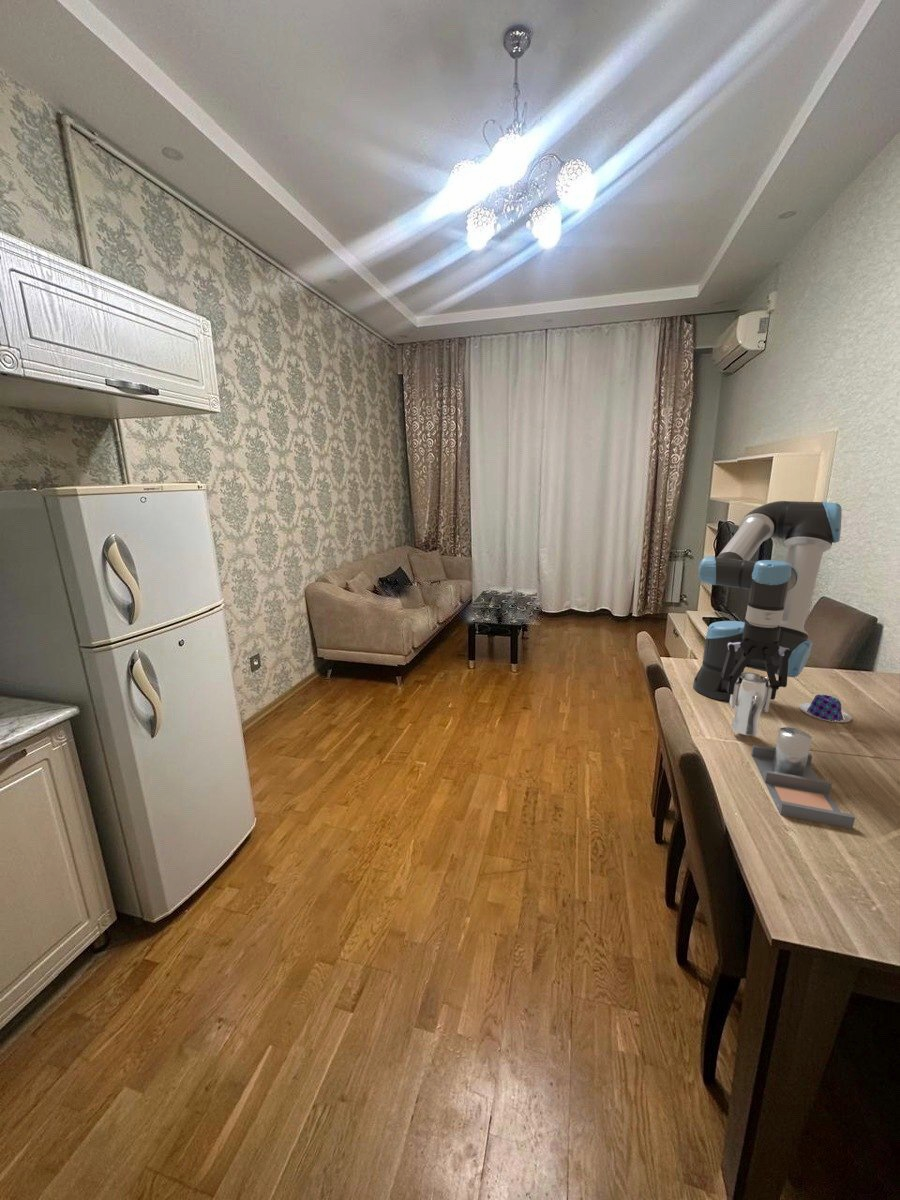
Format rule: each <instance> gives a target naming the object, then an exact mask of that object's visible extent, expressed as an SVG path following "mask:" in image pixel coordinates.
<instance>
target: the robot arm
mask: <svg viewBox="0 0 900 1200" xmlns="http://www.w3.org/2000/svg"><path fill="white" fill-rule="evenodd" d="M842 511H843V510H842V505H841V504H839V503H837V502H830V501H829V502H827V501H793V500H792V501H791V500H789V501H787V500H777V501H773V502H769V503H766V504H763V505H760V506H758V507H756V508H754V509H752V510H751V511H749V512H748V513H747V514H745V515H744V517H743V518H742V519H741V520H740V522H739V523H738V524H739V525H738V530H737V531H736V532H735V534H734V535H733V536H732V537H731V538H730V540H729V541H728V542H727V544H726V545H725V546H724V547H723V549H722V550H721V551H720V553H719V554H718V555H717V556H705V557H703V558H702V559H701V561H700V562H699V566H698V580H699V581H700V582H701V583H704V584H709V585H712V586H723V587H730V588H737V589H744V590H749V595H748V602H747V607H746V608H747V609H746V613H745V620H746V621H739V620H738V621H737V620H736V621H735V620H721V621H715V622H712V623H710V624H709V626H708V627H707V631H706V635H705V641H704V642H705V643H704V650H703V657H702V664H701V667H700V668H699V670H698V671H697V674H696V676H695V677H694V680H693V683H692V688H693V689H694V690H695V691H696V692H697V693H698V694H700V695H703V696H705V697H707V698H710V699H714V700H718V701H723V700H724V701H725V702H729V705H730V706H731V708H733V709H735V704H736V698H737V692H738V686H739V685H738V683H737V680H738V678H739V676H740V675H741V673H743V672H745V669H746V668H748V669H753V670H757V671H762V672H766V674H767V678H768V680H769V681H768V693H767V698H766V702H765V705H764V707H763V710H762V711H764V712H765V713H769V708H770V703H771V700H775V699H776V694H777V691H778V690H779V689H780V688H786V687H787V686H788V678H797V677H798V676H799V675H800V674H801V673H802V672H803V670H804V668H805V666H806V664H807V663H808V660H809V657H810V655H811V652H812V648H813V641H812V640H810V639H808V638H809V633H808V632H807V631H806V630H805V623H806V620H807V616H808V613H809V609H810V604H811V601H812V597H813V594H814V589H815V585H816V581H817V578H818V573H819V569H820V565H821V562H822V558H823V554H824V553H825V552H827V551H829V550H830V549H831V548H832V545H833V543H834V544H835V543H839V542H840V541H841V540H840V539H841V531H842V518H843V517H842V514H843V513H842ZM771 538H774V539H784V542H783V544H784V545H785V546H786V548H788V549H787V552H786V553H787V554H786V556H785V561H782V560H775V559H774V560H771V559H762V560H758V561H754V560H751V559H752V557H754V556H755V553H756V552H757V551H758V549H759V548H760V546H761V545H762V544H763V542H765V541H767V540H769V539H771ZM776 676H778V679H777V678H776Z"/></svg>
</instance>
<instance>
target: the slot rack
mask: <svg viewBox="0 0 900 1200" xmlns="http://www.w3.org/2000/svg"><path fill="white" fill-rule="evenodd" d="M751 746H752V748H751V753H750V755H751V756H752V759H753V761H754V762H755V765H756V767H757V770H758V771H759V773H760V776H761V778H762V779H763V782H764V784H765V786H766V788H767V790H768V793H769V794H770V796H771V798H772V800H773V803H774V804H775V806H776V809H777V811H778V813H779V815H781V816H784V817H790V818H795V819H800V820H805V821H810V822H816V823H820V824H826V825H830V826H836V827H840V828H846V829H851V830H853V827H854V824H855V820H856V817H855V815H854V814H852V813H848V812H847V813H846V812H842V811H841V809H840V808H839V806H838V805H837V803H836V802H835V801H834V799H833V798H832V796H831V795H830V792H831V789H832V783H831V781H829V780H825V779H824V780H823V779H820V778H819V777H818V775H817V774H816V772H815V771H814V769H813V768H812V766H811V764H812V760H813V756H812V754H811V753H809V754H808V759H807V764H806V768H805V773H804V777H802V776H796V775H791V774H785V773H779V772H773V770H772V765H773V760H774V755H775V750H776V747H775V748H774V747H769V746H762V745H756V744H752V745H751Z"/></svg>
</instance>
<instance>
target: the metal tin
mask: <svg viewBox="0 0 900 1200" xmlns="http://www.w3.org/2000/svg"><path fill="white" fill-rule="evenodd" d="M812 740H813V737H812V736H811V735H810V734H809V733H808V732H806V731H804V730H802V729H798V728H794V727H789V726H788V727H781V728H779V731H778V736H777V740H776V744H775V745H776V746H775V748H776V750H775V755H774V760H773V765H772V770H773V772H779V773H785V774H791V775H796V776H802V777H804V773H805V768H806V764H807V759H808V754H810V749H811V744H812Z"/></svg>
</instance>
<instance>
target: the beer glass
mask: <svg viewBox="0 0 900 1200" xmlns="http://www.w3.org/2000/svg"><path fill="white" fill-rule="evenodd" d="M737 683H738V685H739V686H738V692H737V698H736V704H735V708H734V718H733V720H732V723H731V726H730V727H731V729H732V730H733V731H734V732H736V733H738V734H741V735H744V736H750V737H752V736H754V737H755V736H756V735H757V736H758V734H759V720H760V716H761V713H762V712H763V711H764V710H763V707H764V705H765V702H766V698H767V693H768V684H769V679H768V677H767V676H765V675H763V674H761V673H755V672H751V671H750V672H748V671H747V672H746V671H744V672H743V673H741V675H740V676H739V678H738V680H737Z"/></svg>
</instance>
